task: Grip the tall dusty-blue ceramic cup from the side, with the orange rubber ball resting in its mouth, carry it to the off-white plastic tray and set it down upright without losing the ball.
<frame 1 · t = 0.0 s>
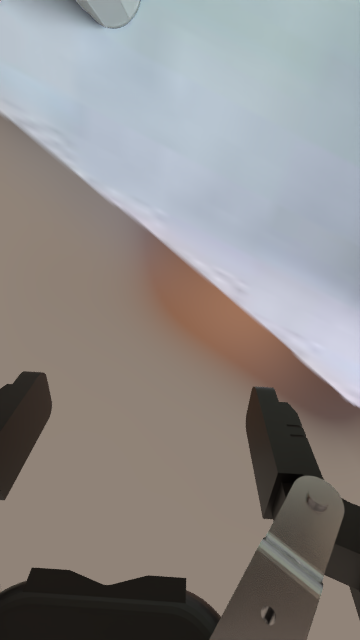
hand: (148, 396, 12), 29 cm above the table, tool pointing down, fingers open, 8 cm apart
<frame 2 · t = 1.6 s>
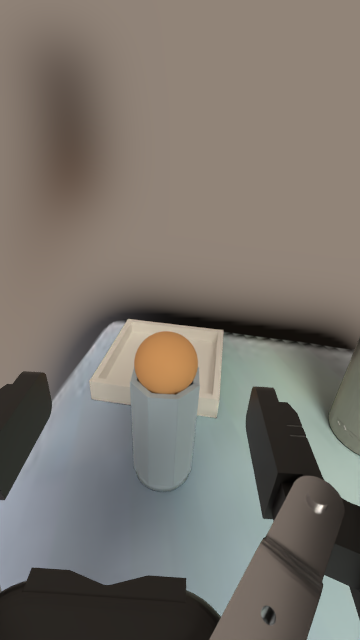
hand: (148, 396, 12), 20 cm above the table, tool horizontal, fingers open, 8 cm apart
cup: (163, 465, 31), on the table, touching ball
tray: (165, 368, 45), on the table
ball: (166, 363, 25), point 13 cm above the table, touching cup
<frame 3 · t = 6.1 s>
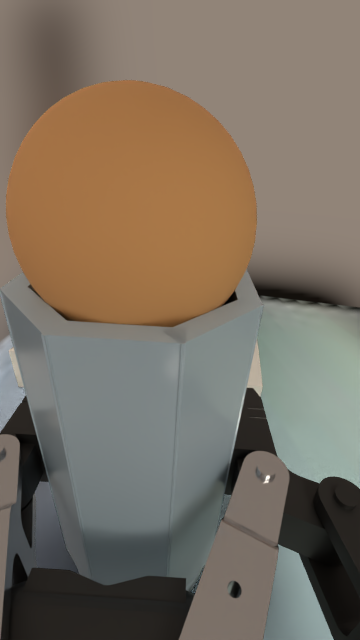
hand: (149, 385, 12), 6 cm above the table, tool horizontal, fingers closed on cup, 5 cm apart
cup: (143, 534, 13), on the table, touching ball, gripper
tray: (157, 339, 27), on the table
ball: (138, 226, 7), point 13 cm above the table, touching cup
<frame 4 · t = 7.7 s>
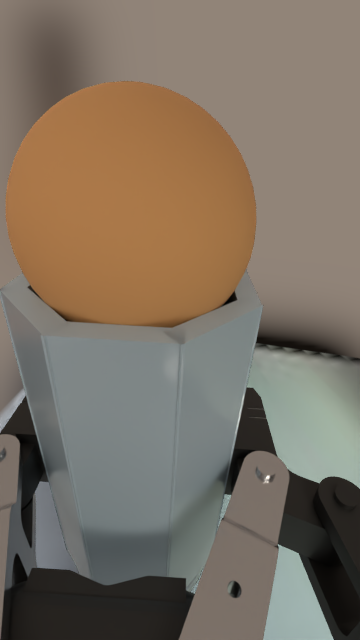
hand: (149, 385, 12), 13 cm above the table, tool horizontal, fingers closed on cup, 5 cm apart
cup: (143, 534, 13), point 6 cm above the table, touching ball, gripper
ball: (137, 227, 7), point 20 cm above the table, touching cup
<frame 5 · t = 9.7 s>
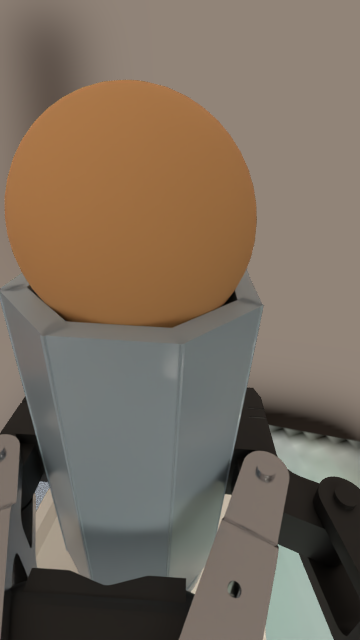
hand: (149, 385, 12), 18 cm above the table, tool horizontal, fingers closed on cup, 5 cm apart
cup: (143, 535, 13), point 12 cm above the table, touching ball, gripper
tray: (151, 523, 24), on the table
ball: (137, 226, 7), point 25 cm above the table, touching cup
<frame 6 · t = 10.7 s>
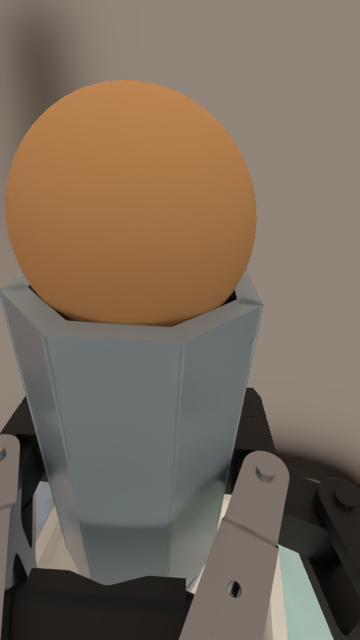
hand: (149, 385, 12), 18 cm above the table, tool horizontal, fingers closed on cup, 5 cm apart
cup: (143, 534, 13), point 11 cm above the table, touching ball, gripper
tray: (145, 628, 19), on the table
ball: (137, 226, 7), point 25 cm above the table, touching cup
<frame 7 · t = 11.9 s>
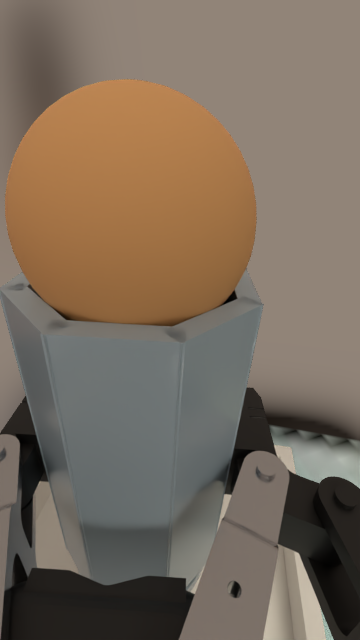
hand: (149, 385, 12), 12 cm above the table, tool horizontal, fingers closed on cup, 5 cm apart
cup: (143, 534, 13), point 6 cm above the table, touching ball, gripper
tray: (148, 585, 16), on the table
ball: (137, 226, 7), point 19 cm above the table, touching cup
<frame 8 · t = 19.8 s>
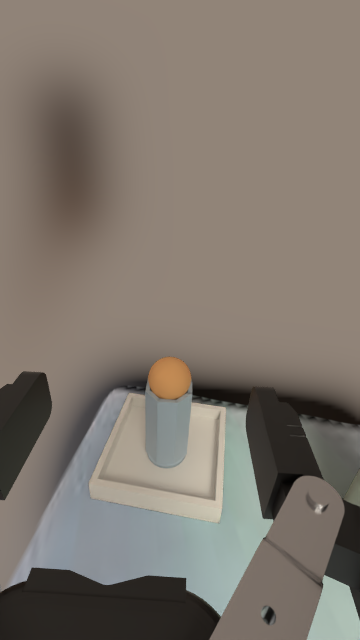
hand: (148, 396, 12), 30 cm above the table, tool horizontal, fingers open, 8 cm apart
cup: (166, 450, 43), point 1 cm above the table, touching ball, tray
tray: (166, 454, 44), on the table
ball: (169, 378, 37), point 14 cm above the table, touching cup
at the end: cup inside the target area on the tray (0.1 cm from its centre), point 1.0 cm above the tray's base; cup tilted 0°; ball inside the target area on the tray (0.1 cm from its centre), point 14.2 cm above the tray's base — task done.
